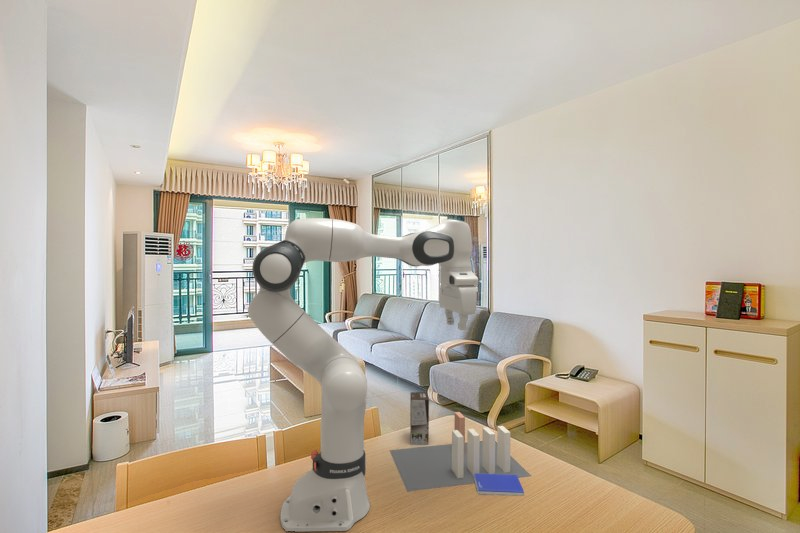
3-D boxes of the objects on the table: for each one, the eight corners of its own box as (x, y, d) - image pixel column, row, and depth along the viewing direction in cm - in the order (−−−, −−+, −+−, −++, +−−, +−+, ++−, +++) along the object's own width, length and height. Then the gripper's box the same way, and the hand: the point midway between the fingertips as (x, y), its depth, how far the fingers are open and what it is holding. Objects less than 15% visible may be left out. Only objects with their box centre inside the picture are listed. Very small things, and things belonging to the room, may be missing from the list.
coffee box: (429, 446, 140) (429, 399, 139) (410, 446, 140) (410, 399, 139) (427, 435, 149) (427, 391, 148) (410, 434, 149) (410, 391, 149)
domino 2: (473, 476, 119) (473, 435, 119) (467, 467, 124) (467, 429, 124) (479, 475, 120) (479, 435, 120) (472, 467, 125) (472, 428, 124)
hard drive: (478, 489, 110) (524, 491, 110) (473, 472, 118) (516, 474, 118) (478, 495, 110) (523, 496, 110) (473, 477, 118) (516, 479, 118)
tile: (459, 453, 133) (459, 417, 133) (454, 447, 138) (454, 412, 138) (464, 453, 134) (464, 417, 133) (459, 446, 138) (459, 411, 138)
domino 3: (489, 474, 120) (489, 434, 120) (482, 466, 125) (482, 427, 125) (494, 473, 121) (495, 433, 121) (487, 465, 126) (487, 427, 125)
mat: (407, 492, 111) (407, 491, 111) (389, 451, 136) (389, 450, 136) (531, 477, 120) (531, 476, 120) (494, 440, 144) (494, 439, 144)
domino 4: (504, 472, 121) (504, 432, 121) (497, 464, 126) (497, 426, 126) (510, 471, 122) (510, 432, 122) (502, 463, 127) (502, 425, 127)
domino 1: (457, 478, 118) (457, 437, 118) (451, 469, 123) (452, 430, 123) (463, 477, 119) (463, 436, 118) (457, 469, 123) (457, 430, 123)
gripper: (434, 276, 122) (434, 321, 122) (457, 279, 102) (457, 333, 102) (453, 276, 123) (453, 321, 124) (481, 278, 103) (481, 332, 104)
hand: (455, 327), depth 113 cm, fingers open, 8 cm apart
